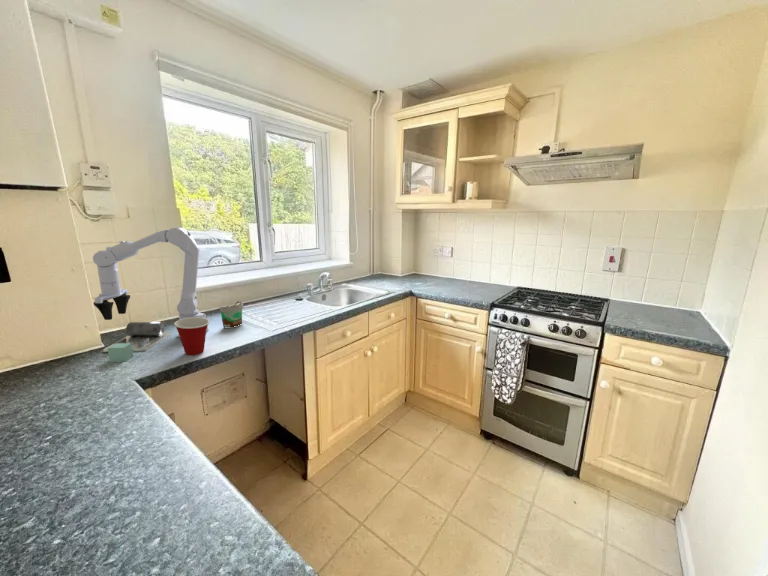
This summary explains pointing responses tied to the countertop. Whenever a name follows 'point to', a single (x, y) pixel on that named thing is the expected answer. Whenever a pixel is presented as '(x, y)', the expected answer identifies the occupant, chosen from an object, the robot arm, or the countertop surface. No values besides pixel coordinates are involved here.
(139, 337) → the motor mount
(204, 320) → the plastic cup
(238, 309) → the food container
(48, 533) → the countertop surface
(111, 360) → the pump block
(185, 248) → the robot arm
